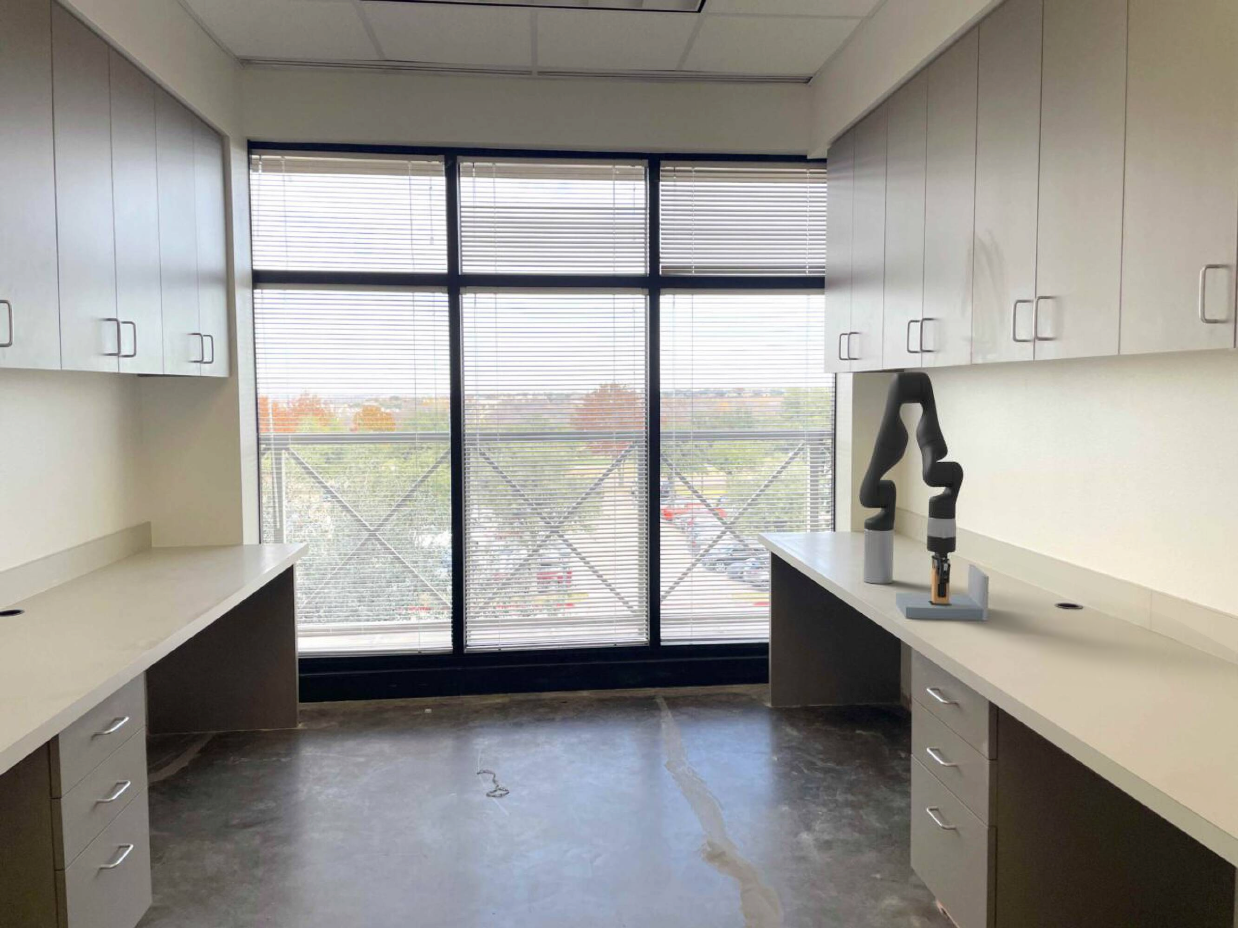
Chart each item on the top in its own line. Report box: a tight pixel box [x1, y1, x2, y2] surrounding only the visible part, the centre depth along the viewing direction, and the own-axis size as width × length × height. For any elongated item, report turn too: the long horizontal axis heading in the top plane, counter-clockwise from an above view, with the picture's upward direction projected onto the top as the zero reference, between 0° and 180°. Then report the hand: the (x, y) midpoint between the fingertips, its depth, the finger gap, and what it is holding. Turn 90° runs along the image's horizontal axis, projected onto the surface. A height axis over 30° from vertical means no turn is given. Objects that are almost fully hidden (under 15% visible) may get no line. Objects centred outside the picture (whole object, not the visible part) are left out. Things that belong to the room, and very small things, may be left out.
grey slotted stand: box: [895, 563, 990, 622], centre depth 256 cm, size 18×21×12 cm
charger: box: [930, 567, 951, 603], centre depth 252 cm, size 4×4×9 cm
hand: (940, 595), depth 253 cm, fingers closed on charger, 4 cm apart
